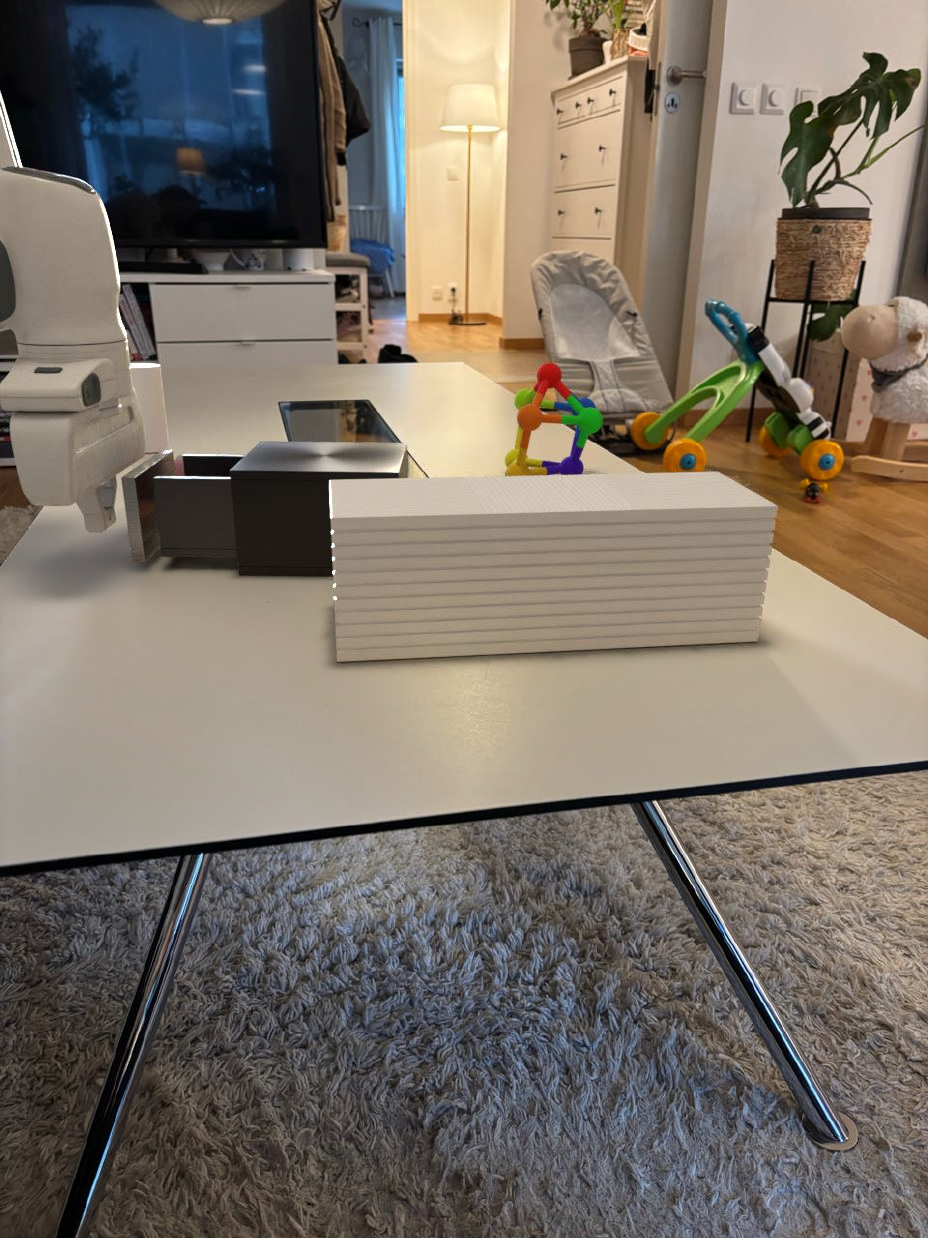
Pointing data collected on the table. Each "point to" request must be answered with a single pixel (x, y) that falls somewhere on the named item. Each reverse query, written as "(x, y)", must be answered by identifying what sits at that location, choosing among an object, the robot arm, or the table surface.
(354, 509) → the stack of papers
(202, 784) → the table surface
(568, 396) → the educational toy
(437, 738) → the table surface
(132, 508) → the drawer
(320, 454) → the brushed black cube
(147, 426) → the tube
